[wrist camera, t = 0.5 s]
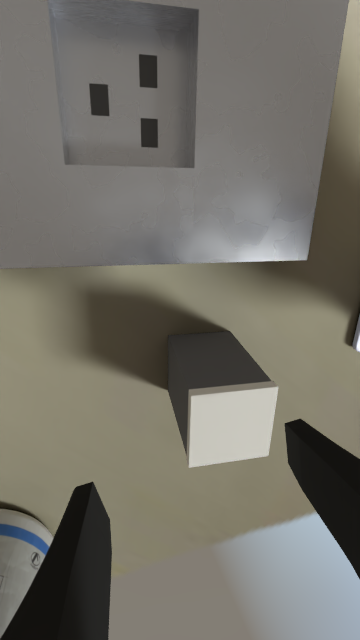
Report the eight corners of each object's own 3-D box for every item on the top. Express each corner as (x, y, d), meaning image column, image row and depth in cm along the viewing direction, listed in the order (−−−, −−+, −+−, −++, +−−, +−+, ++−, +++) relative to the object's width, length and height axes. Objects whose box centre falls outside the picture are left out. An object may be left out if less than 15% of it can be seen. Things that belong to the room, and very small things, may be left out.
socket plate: (327, -71, 14) (380, -134, 12) (284, 251, 20) (313, 262, 17) (-156, -158, 11) (-247, -278, 8) (-52, 258, 16) (-86, 274, 13)
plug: (230, 330, 21) (278, 386, 15) (226, 385, 22) (268, 455, 17) (167, 334, 20) (191, 395, 14) (167, 391, 22) (188, 467, 16)
